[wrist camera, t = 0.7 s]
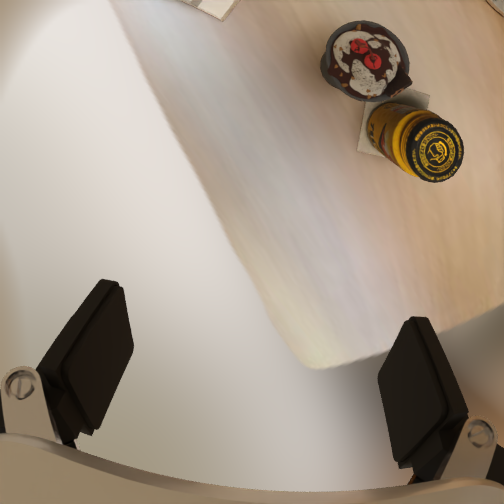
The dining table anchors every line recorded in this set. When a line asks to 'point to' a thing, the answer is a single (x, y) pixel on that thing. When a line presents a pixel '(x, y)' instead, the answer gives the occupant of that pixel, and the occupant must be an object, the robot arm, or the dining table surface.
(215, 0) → the panel
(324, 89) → the dining table surface
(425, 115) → the condiment
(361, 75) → the sundae
